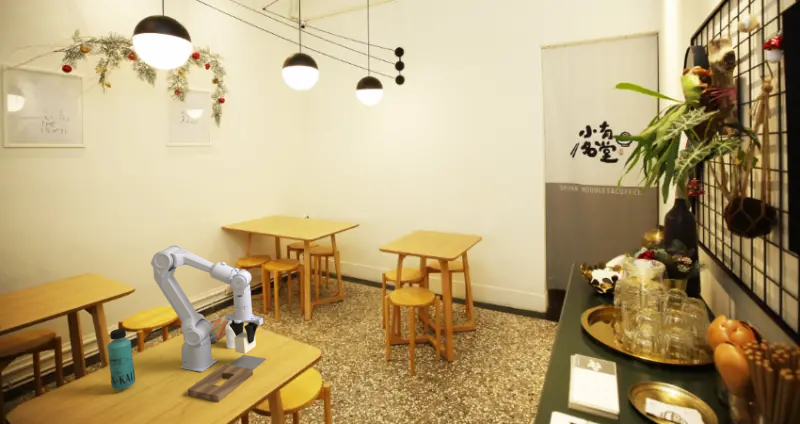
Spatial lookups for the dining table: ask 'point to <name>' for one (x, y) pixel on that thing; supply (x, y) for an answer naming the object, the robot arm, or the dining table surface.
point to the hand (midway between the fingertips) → (245, 341)
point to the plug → (243, 343)
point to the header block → (217, 393)
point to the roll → (230, 336)
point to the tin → (218, 328)
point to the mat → (248, 361)
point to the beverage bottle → (120, 360)
